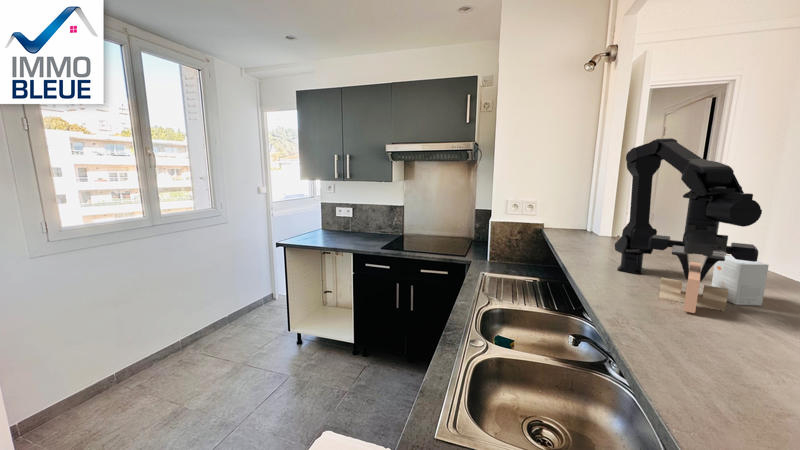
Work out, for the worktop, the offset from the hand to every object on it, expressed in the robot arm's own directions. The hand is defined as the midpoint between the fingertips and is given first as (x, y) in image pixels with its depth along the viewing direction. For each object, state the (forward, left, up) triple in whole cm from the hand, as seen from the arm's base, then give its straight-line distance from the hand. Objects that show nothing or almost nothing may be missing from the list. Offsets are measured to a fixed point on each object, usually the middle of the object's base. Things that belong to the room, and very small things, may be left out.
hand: (693, 280), depth 76 cm
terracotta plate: (0, 0, -5) cm, 5 cm away
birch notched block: (0, 0, -6) cm, 6 cm away
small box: (-10, +8, -6) cm, 14 cm away
